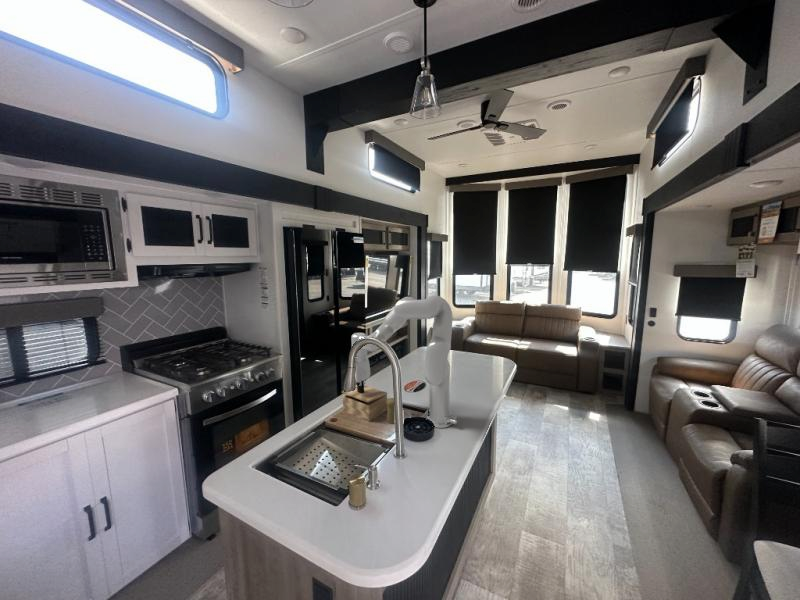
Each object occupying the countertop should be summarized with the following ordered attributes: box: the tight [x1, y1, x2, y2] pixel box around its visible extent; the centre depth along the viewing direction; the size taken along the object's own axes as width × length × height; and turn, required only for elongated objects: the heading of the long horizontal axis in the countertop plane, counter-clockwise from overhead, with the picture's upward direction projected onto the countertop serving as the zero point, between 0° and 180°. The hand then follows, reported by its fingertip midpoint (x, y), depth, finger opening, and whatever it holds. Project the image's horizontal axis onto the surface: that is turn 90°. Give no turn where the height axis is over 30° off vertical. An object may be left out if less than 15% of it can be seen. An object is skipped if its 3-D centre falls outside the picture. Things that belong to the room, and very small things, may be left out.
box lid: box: [341, 385, 388, 403], centre depth 158 cm, size 18×14×1 cm
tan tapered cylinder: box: [386, 397, 395, 425], centre depth 148 cm, size 6×6×11 cm
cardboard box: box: [342, 394, 388, 422], centre depth 159 cm, size 18×14×8 cm
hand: (360, 392), depth 157 cm, fingers closed
